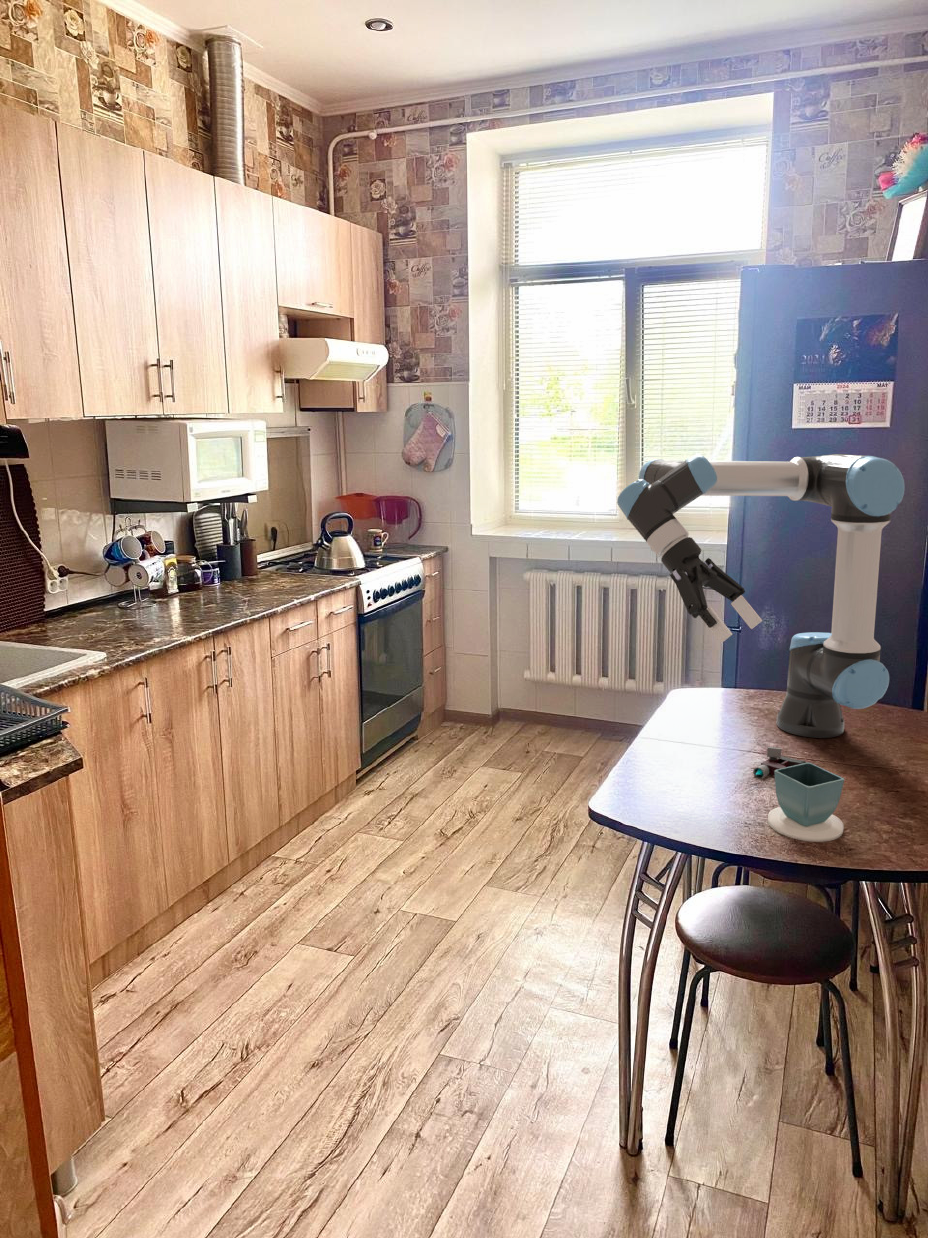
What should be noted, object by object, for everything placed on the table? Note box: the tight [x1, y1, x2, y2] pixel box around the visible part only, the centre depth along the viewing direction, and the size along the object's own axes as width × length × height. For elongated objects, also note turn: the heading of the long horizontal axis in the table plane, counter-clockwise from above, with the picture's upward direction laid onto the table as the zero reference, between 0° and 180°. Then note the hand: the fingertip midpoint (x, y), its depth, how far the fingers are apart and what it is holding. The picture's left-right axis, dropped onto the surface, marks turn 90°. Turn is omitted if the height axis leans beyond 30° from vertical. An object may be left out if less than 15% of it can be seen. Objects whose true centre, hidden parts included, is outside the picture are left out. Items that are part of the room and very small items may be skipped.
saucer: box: [767, 806, 844, 843], centre depth 170 cm, size 13×13×1 cm
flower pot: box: [774, 762, 845, 826], centre depth 169 cm, size 9×9×9 cm
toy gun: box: [752, 746, 807, 779], centre depth 193 cm, size 10×12×5 cm
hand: (742, 631), depth 179 cm, fingers open, 13 cm apart
